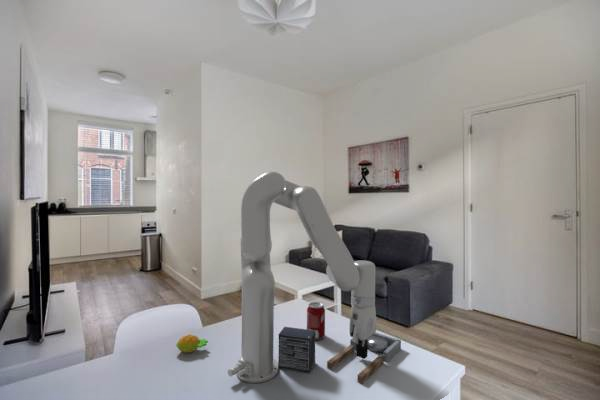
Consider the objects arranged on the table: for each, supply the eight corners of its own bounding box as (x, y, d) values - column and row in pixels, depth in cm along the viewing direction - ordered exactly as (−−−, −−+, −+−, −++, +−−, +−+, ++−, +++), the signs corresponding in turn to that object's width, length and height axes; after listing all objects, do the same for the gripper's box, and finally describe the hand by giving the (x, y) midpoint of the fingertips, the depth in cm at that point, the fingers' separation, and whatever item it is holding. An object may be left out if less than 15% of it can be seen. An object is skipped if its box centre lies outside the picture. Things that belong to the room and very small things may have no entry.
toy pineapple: (179, 346, 104) (180, 331, 104) (209, 345, 105) (209, 330, 105) (173, 357, 97) (173, 341, 97) (204, 356, 98) (205, 340, 98)
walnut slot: (362, 384, 84) (362, 377, 84) (327, 367, 92) (327, 361, 92) (383, 363, 95) (383, 356, 95) (350, 350, 102) (350, 344, 102)
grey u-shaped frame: (387, 362, 95) (387, 353, 95) (350, 348, 104) (350, 339, 104) (400, 348, 104) (400, 340, 104) (365, 336, 112) (365, 328, 112)
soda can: (318, 342, 107) (318, 309, 107) (303, 337, 111) (303, 305, 111) (328, 335, 113) (328, 304, 113) (313, 330, 117) (313, 300, 117)
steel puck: (382, 356, 99) (382, 347, 99) (363, 349, 103) (363, 340, 103) (390, 348, 104) (390, 339, 104) (372, 341, 109) (372, 333, 109)
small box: (315, 362, 95) (316, 329, 95) (311, 374, 89) (311, 339, 88) (284, 357, 98) (284, 325, 98) (277, 368, 91) (277, 334, 91)
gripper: (362, 309, 88) (360, 371, 88) (383, 296, 100) (382, 351, 100) (340, 303, 93) (339, 361, 93) (363, 291, 104) (362, 344, 105)
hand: (361, 356), depth 96 cm, fingers closed
